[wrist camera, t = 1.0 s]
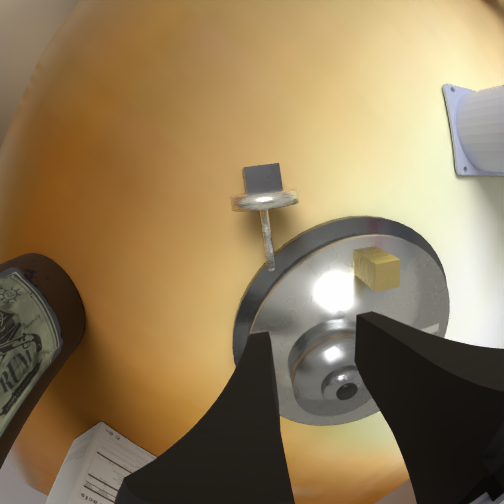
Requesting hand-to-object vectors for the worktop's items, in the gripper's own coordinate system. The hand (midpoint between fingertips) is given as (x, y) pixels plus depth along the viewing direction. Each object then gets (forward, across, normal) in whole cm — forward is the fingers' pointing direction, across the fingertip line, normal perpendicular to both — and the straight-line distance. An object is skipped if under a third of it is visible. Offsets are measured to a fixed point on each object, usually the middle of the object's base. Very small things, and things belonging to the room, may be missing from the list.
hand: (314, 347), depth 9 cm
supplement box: (+11, +21, +21) cm, 32 cm away
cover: (+8, -3, +7) cm, 11 cm away
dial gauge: (+10, 0, -3) cm, 11 cm away
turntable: (+9, -6, +7) cm, 13 cm away
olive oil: (+11, +20, +1) cm, 23 cm away
